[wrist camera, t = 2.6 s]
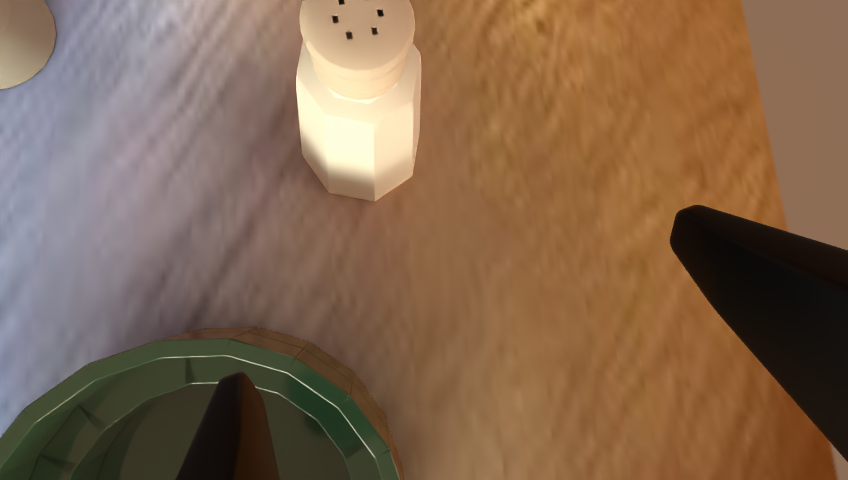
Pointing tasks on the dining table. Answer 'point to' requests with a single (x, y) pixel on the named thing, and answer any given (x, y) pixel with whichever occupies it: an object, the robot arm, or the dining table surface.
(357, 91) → the pepper shaker
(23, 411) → the bowl
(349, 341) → the dining table surface
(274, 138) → the dining table surface
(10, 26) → the chalice
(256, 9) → the dining table surface
